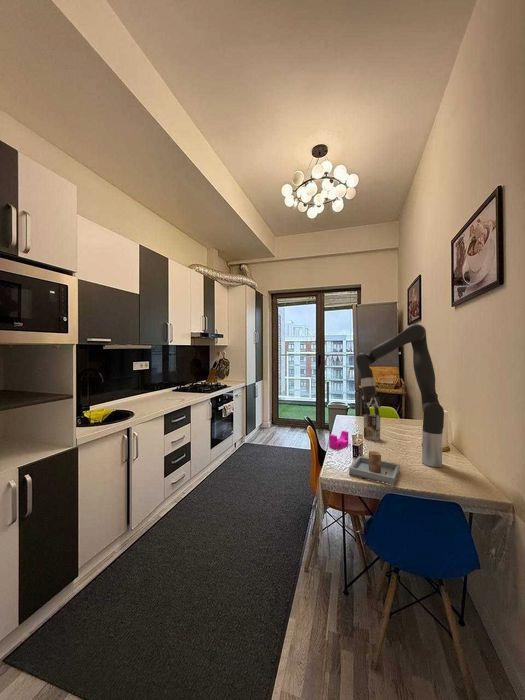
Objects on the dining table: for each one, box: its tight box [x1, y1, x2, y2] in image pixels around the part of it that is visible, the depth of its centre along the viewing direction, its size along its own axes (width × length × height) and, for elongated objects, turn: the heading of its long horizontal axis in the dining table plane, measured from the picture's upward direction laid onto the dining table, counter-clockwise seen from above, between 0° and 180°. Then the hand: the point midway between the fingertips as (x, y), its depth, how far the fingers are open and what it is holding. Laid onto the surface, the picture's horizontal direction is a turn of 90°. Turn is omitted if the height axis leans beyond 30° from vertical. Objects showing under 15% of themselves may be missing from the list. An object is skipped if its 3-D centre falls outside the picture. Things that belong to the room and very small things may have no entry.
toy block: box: [328, 430, 349, 451], centre depth 182 cm, size 15×6×8 cm, turn 130°
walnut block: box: [368, 450, 382, 473], centre depth 143 cm, size 4×4×9 cm
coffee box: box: [363, 413, 381, 442], centre depth 196 cm, size 9×6×16 cm
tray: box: [348, 455, 401, 486], centre depth 143 cm, size 20×18×4 cm
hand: (373, 415), depth 164 cm, fingers open, 8 cm apart
